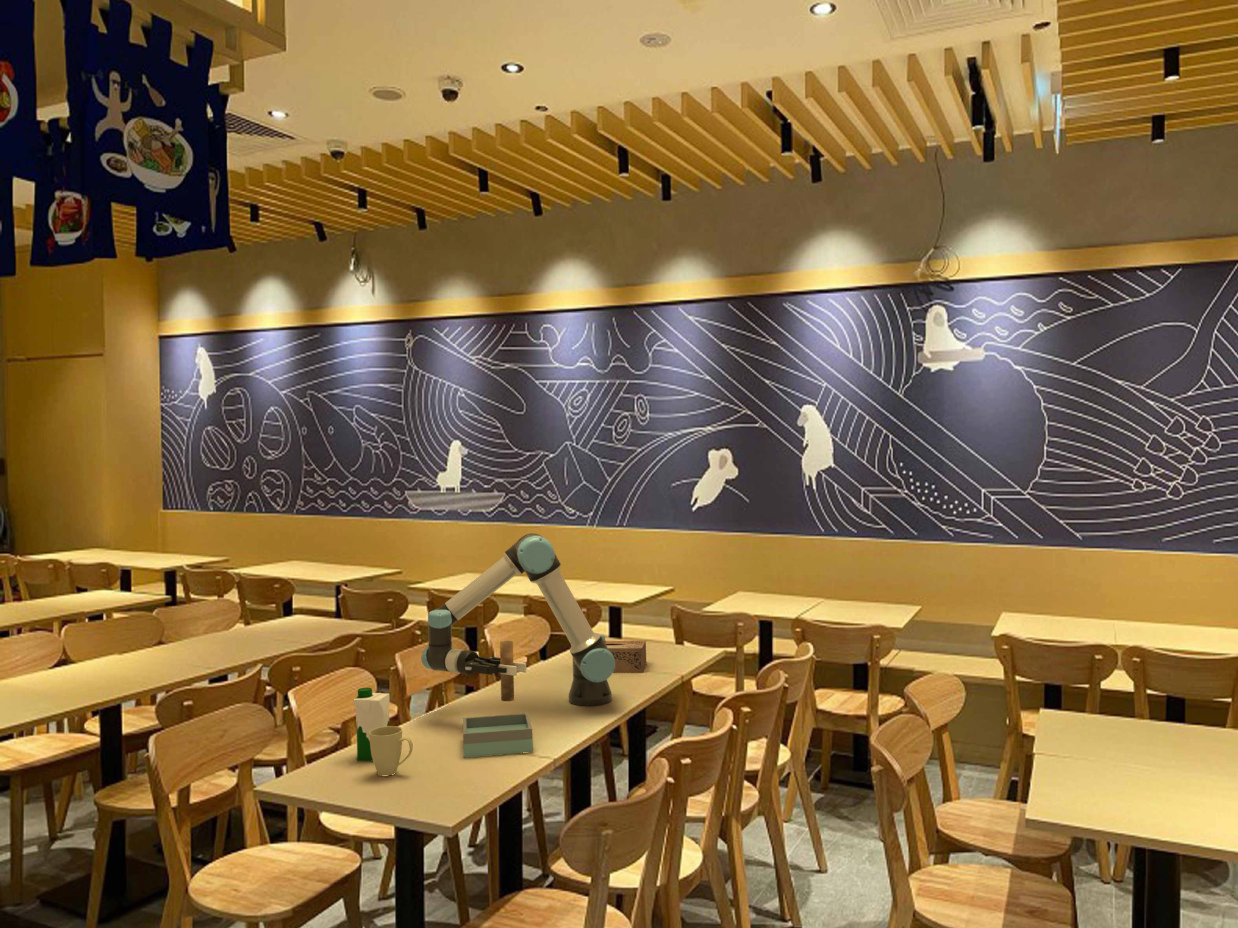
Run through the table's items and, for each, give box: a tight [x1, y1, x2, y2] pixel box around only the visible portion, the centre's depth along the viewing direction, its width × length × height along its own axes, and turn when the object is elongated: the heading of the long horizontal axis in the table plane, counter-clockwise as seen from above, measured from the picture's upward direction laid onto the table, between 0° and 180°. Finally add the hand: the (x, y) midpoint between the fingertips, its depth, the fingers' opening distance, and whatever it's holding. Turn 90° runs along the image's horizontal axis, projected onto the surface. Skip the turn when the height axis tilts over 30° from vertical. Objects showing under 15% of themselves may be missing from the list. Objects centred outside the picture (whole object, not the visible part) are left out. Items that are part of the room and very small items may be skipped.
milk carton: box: [353, 687, 390, 762], centre depth 281 cm, size 9×9×20 cm
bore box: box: [462, 712, 534, 759], centre depth 288 cm, size 20×17×7 cm
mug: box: [369, 725, 414, 776], centre depth 266 cm, size 11×10×12 cm
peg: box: [499, 640, 515, 702], centre depth 299 cm, size 4×4×18 cm
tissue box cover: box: [605, 640, 647, 674], centre depth 384 cm, size 26×14×10 cm, turn 83°
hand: (520, 669), depth 296 cm, fingers closed on peg, 4 cm apart
